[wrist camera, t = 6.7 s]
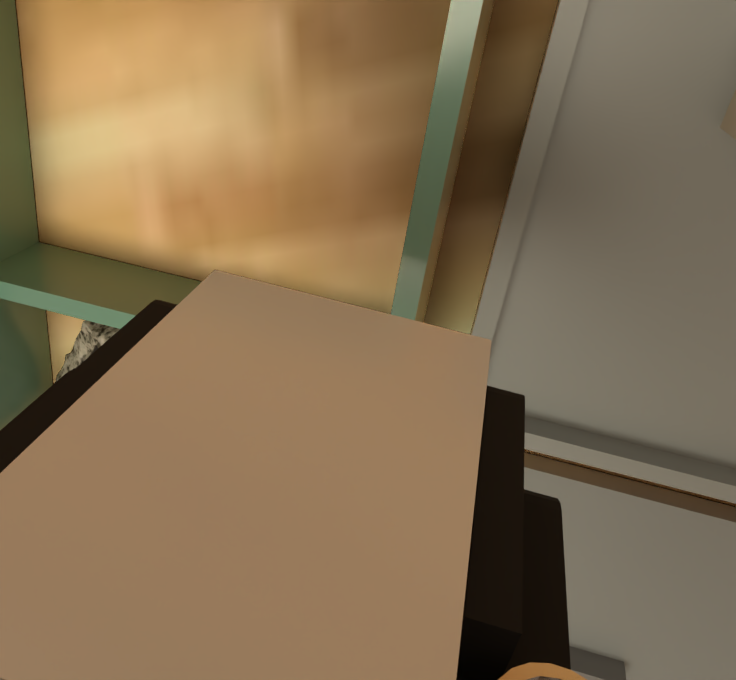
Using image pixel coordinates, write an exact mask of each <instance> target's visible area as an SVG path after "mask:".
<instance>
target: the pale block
mask: <svg viewBox="0 0 736 680" xmlns="http://www.w3.org/2000/svg"><path fill="white" fill-rule="evenodd" d="M491 341H492V340H490V339H486V338H482V337H478V336H474V335H470V334H466V333H462V332H458V331H454V330H450V329H446V328H442V327H439V326H435V325H431V324H427V323H423V322H419V321H415V320H411V319H407V318H403V317H399V316H395V315H391V314H387V313H383V312H379V311H376V310H372V309H368V308H364V307H360V306H356V305H352V304H348V303H344V302H340V301H336V300H332V299H328V298H324V297H320V296H316V295H313V294H309V293H305V292H301V291H297V290H293V289H289V288H285V287H281V286H277V285H273V284H269V283H265V282H261V281H257V280H254V279H250V278H246V277H242V276H238V275H234V274H230V273H226V272H222V271H218V270H214V271H213V272H212V273H211V274H210V275H209V276H208V277H207V278H205V279H204V280H203V281H202V282H201V283H200V284H199V285H198V286H197V287H196V288H195V289H194V290H193V291H192V292H191V293H190V294H189V295H188V296H187V297H185V298H184V299H183V300H182V301H181V302H180V303H179V304H178V305H177V306H176V307H175V308H174V309H173V310H172V311H171V312H170V313H169V314H168V315H166V316H165V317H164V318H163V319H162V320H161V321H160V322H159V323H158V324H157V325H156V326H155V327H154V328H153V329H152V330H151V331H150V332H149V333H148V334H146V335H145V336H144V337H143V338H142V339H141V340H140V341H139V342H138V343H137V344H136V345H135V346H134V347H133V348H132V349H131V350H130V351H129V352H127V353H126V354H125V355H124V356H123V357H122V358H121V359H120V360H119V361H118V362H117V363H116V364H115V365H114V366H113V367H112V368H111V369H110V370H109V371H107V372H106V373H105V374H104V375H103V376H102V377H101V378H100V379H99V380H98V381H97V382H96V383H95V384H94V385H93V386H92V387H91V388H90V389H88V390H87V391H86V392H85V393H84V394H83V395H82V396H81V397H80V398H79V399H78V400H77V401H76V402H75V403H74V404H73V405H72V406H71V407H70V408H68V409H67V410H66V411H65V412H64V413H63V414H62V415H61V416H60V417H59V418H58V419H57V420H56V421H55V422H54V423H53V424H52V425H51V426H50V427H48V428H47V429H46V430H45V431H44V432H43V433H42V434H41V435H40V436H39V437H38V438H37V439H36V440H35V441H34V442H33V443H32V444H31V445H29V446H28V447H27V448H26V449H25V450H24V451H23V452H22V453H21V454H20V455H19V456H18V457H17V458H16V459H15V460H14V461H13V462H12V463H11V464H9V465H8V466H7V467H6V468H5V469H4V470H3V471H2V472H1V473H0V680H456V678H457V668H458V659H459V649H460V639H461V630H462V620H463V610H464V601H465V591H466V581H467V572H468V562H469V553H470V543H471V533H472V524H473V514H474V504H475V495H476V485H477V475H478V466H479V456H480V447H481V437H482V427H483V418H484V408H485V398H486V389H487V379H488V369H489V360H490V350H491Z"/></svg>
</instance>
